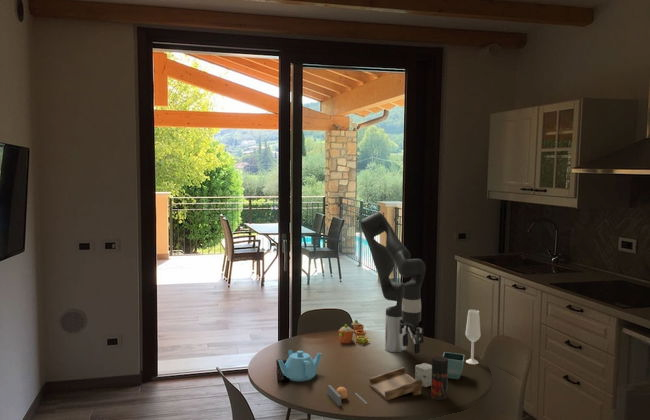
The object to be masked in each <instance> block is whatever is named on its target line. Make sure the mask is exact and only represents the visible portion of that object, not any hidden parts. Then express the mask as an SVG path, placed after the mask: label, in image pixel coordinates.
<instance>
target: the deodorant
mask: <svg viewBox="0 0 650 420" xmlns="http://www.w3.org/2000/svg"><path fill="white" fill-rule="evenodd" d="M431 358H432V359H431V365H432V380H431V385H430V386H431V389H430V390H431V391H430V397H431V398H432V399H434V400H438V401H444V400H446V399H447V398H448V378H447V377H448V358H446V357H443V355H435V356H432V357H431Z"/></svg>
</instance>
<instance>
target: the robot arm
mask: <svg viewBox="0 0 650 420" xmlns="http://www.w3.org/2000/svg"><path fill="white" fill-rule="evenodd" d="M360 228H361V230H362V233H363V235H364V237H365V240H366V242H367V245H368V248H369V251H370V254H371V257H372V260H373V264H374V266H375V270H376V273H377V275H378V277H379V278H378V279H379V283H380V287H381V291H382V295H383V299H385V300H387V301H392V302H396V304H395V305H393V306H392V305H391V306H389V307H386V309H385V333H384V335H385V336H384V347H385V348H384V350H386V352H390V353H401V352H404V351H406V350H407V347H408V346H409V336H410V338H411V339H412V342H413V353H414V354H419V353H420V350H421V349H420V348H421V346H420V345H421V344H424V342H425V341H424V327H420V326H419V323H420V322H421V321H422V299H421V295H422V293H421V291H422V290H421V289H422V285H423V282H424V279H425V275H426V271H427V269H426V264H425V262H424V261H423V260H422V259H421V258H411V252H410V251H409V250H408V249H407V247H406V246H405V245H404V244H403V242H402V241H401V240H400V239H399V237H398V236H397V234H396V232H395V231H394V228H393V227H392V226H391V224H390V223H389V221H388V219H387V218H386V217H385V215H384V214H383V213H382V212H379V211H377V212H374V213H372V214H370V215H368V216H366V217H365V218H363V219H361V220H360ZM384 232H385V234H386V237H385V238H386V240H385V245H383V244H382V243H380V242H378V241H377V240H376V239H375V237H377V236H378V235H380V234H383V233H384ZM395 266H396V267H397V272H398V273H399V275H400V276H401V277H403V278H406V279H408V278H411V279H410V280H409V281H406V282H405V283H404V282H398V281H392V280H391V279H390V276H391V274H392V273H393V270H394V269H395Z"/></svg>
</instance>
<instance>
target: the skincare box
mask: <svg viewBox="0 0 650 420" xmlns="http://www.w3.org/2000/svg"><path fill="white" fill-rule="evenodd" d="M414 367H415V368H414V369H415V371H414V379H415V380H419V379H422V387H424V388H427V387H430V386H431V380H432V364H430V363H427V362H423V363H420V364H416V365H415V366H414Z"/></svg>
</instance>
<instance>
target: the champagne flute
mask: <svg viewBox="0 0 650 420" xmlns="http://www.w3.org/2000/svg"><path fill="white" fill-rule="evenodd" d="M480 320H481V319H480V310H477V309H469V310H467V318H466V327H465V334H464V335H465V336H466V339H467V340H468V341H470V342H471V343H470V344H471V345H470V348H471V349H470V358H469V359H466V360H465V363H467V364H469V365H478V364H479V362H478V360H476V359H475V358H474V357H475V355H474V354H475V343H476V342H477V341H478V340H479V339H480V338H481V334H482V333H481V321H480Z"/></svg>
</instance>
